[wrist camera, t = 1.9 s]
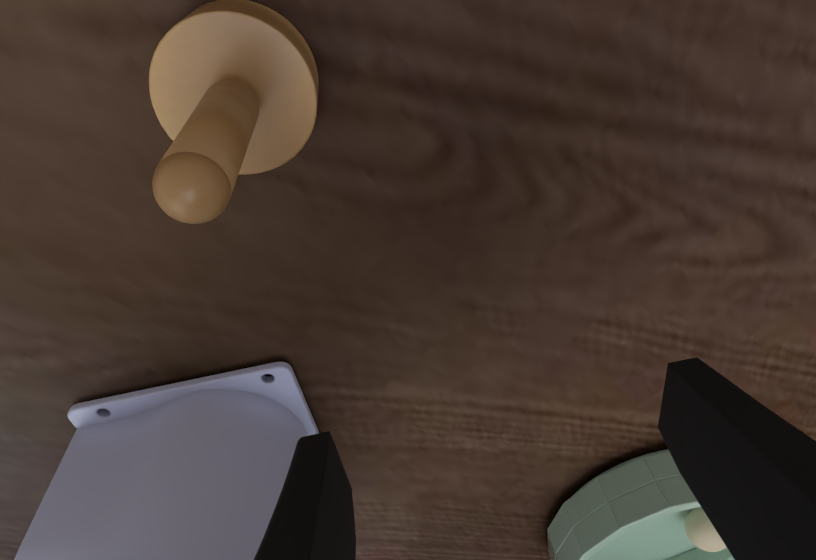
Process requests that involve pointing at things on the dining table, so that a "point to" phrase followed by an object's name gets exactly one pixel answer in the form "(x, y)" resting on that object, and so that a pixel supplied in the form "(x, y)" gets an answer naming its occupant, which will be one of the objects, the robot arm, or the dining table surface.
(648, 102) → the dining table surface
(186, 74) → the wooden rubber stamp
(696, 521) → the ball
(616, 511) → the bowl
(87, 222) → the dining table surface
